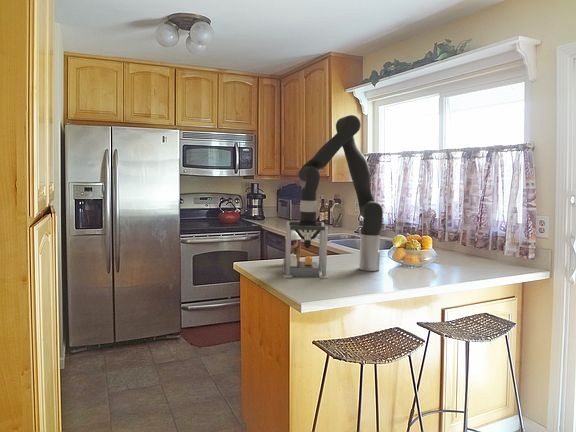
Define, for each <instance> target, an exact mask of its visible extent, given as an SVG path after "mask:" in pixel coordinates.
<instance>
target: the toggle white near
mask: <svg viewBox="0 0 576 432" xmlns="http://www.w3.org/2000/svg"><path fill="white" fill-rule="evenodd" d="M290 266H297V259H295V258H290Z"/></svg>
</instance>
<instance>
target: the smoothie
mask: <svg viewBox="0 0 576 432" xmlns="http://www.w3.org/2000/svg"><path fill="white" fill-rule="evenodd" d="M292 226H295V225H292ZM284 239H285V240H284V242H285V243H284V244H285V245H284V246H285V249H286V236H285V237H284ZM302 240H303V239H301V238H300V236H299V235H298V234H297V233H296V231H295V230H291V254H294V255H296V259H297V261H300V260H301V252H302V251H301V250H302V249H301V248H302Z"/></svg>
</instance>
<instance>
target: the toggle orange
mask: <svg viewBox="0 0 576 432" xmlns="http://www.w3.org/2000/svg"><path fill="white" fill-rule="evenodd" d="M304 262H305V264H307V265H312V262H313V257H312V256H310V255H307V256H304Z"/></svg>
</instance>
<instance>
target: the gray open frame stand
mask: <svg viewBox="0 0 576 432" xmlns="http://www.w3.org/2000/svg"><path fill="white" fill-rule="evenodd" d="M299 222H300V221H286V229H285V231H286V233H285V237H286V248H285V259H286V275H283V274H282V275H283V278H287V279H289V278H290V279H291V278H293V276H292V275H290V256H291V231H293V230H294V231H295V230H299V231H302V230H314V231H316V230H321V231H320V232H319V246H318V249H319V250H318V266H319V272H321V274H319V277H318V278H319V279H324V280H326V279H329V275H327V261H328V260H327V259H328V258H327V257H328V235H329V234H328V230H329V229H328V228H329V226H325V223H324V222H322V221H321V222H320V221H319V222H317V221H316V223H317V226H298V225H299ZM293 225H294V226H293Z"/></svg>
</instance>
